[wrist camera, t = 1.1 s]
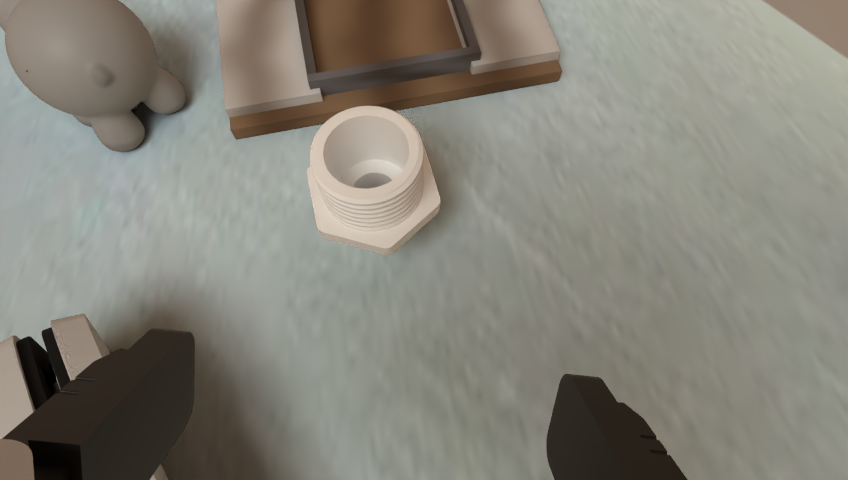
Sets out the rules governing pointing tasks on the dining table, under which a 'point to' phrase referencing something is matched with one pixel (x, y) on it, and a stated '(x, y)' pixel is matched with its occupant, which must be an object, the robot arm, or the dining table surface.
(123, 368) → the robot arm
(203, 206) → the dining table surface
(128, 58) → the chubby cartoon animal
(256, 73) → the base
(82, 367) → the white striped curved block
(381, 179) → the pipe fitting
